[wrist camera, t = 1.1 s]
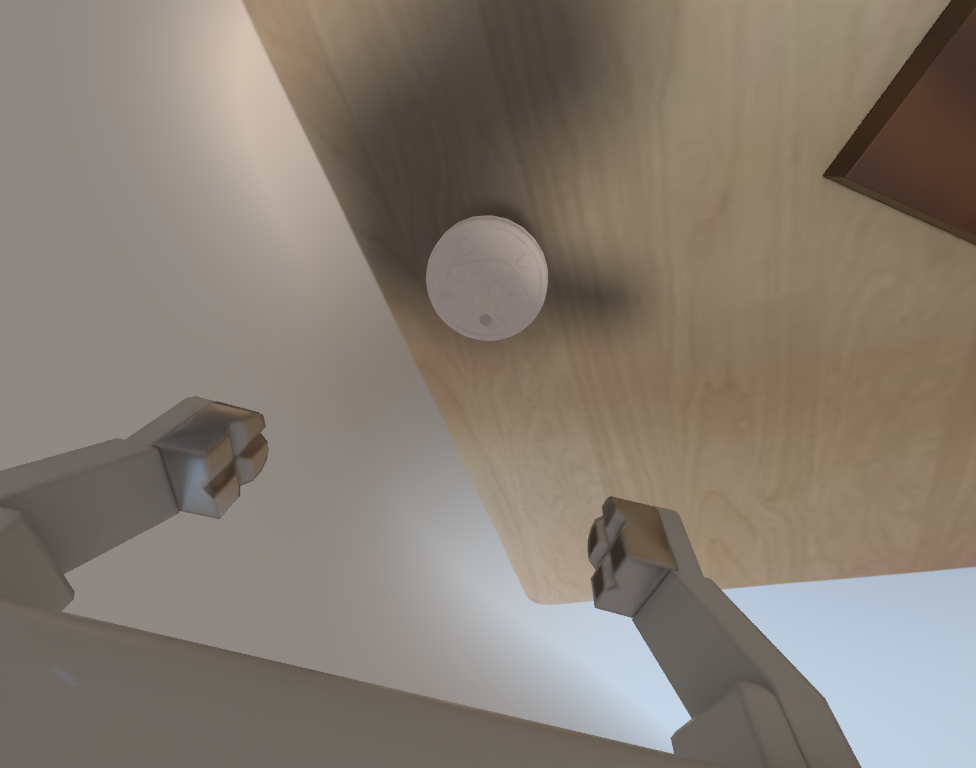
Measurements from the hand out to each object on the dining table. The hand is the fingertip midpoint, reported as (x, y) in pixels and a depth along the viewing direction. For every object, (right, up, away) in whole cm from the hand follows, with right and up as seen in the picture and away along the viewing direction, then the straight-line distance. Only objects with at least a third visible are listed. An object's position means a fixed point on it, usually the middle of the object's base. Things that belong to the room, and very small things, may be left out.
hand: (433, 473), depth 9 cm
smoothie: (+2, +12, +19) cm, 23 cm away
